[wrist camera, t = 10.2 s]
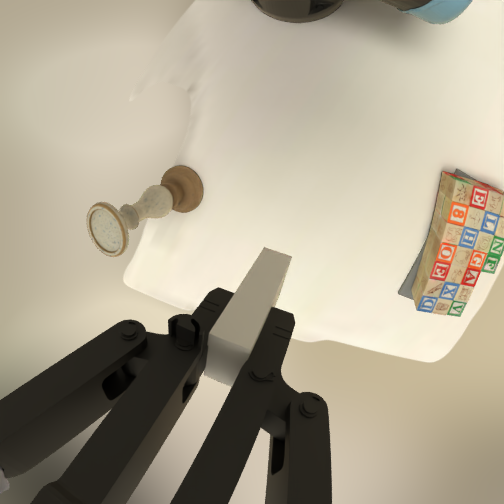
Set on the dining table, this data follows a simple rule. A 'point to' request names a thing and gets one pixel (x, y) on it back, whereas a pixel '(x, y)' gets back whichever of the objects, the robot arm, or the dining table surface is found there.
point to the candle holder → (143, 209)
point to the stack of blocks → (459, 244)
